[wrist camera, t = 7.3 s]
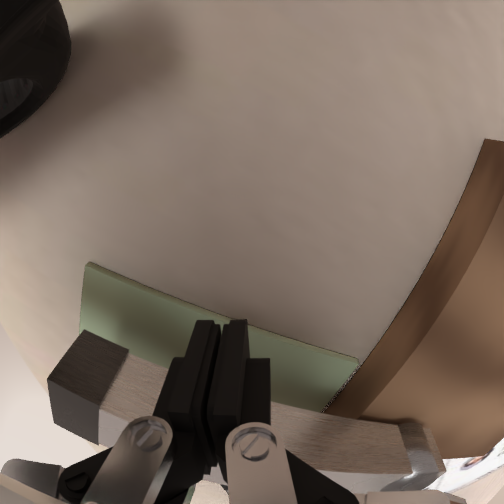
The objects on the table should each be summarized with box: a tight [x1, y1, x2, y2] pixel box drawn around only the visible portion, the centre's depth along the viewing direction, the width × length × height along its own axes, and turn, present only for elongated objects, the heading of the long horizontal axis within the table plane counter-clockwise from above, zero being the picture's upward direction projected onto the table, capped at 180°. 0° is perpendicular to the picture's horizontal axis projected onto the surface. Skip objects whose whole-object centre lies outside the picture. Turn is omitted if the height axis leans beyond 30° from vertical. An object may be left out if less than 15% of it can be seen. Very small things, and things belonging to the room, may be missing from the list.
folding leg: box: [47, 329, 446, 494], centre depth 11 cm, size 17×3×3 cm, turn 69°
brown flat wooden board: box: [79, 139, 504, 459], centre depth 12 cm, size 17×30×2 cm, turn 68°
